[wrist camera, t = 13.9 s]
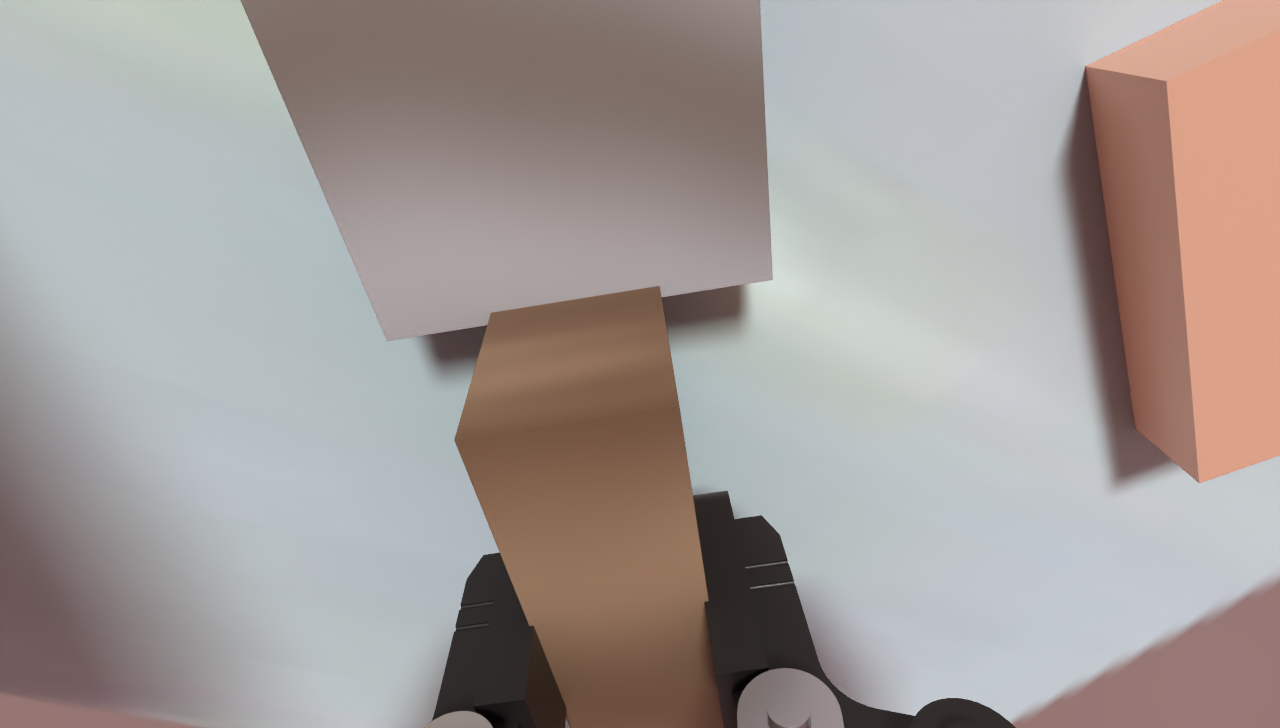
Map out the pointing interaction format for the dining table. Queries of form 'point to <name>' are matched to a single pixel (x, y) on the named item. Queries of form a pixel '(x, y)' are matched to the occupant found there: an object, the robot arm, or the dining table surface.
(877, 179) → the dining table surface
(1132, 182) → the tile
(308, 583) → the dining table surface
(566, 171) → the wooden bar with blade
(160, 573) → the dining table surface
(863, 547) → the dining table surface
